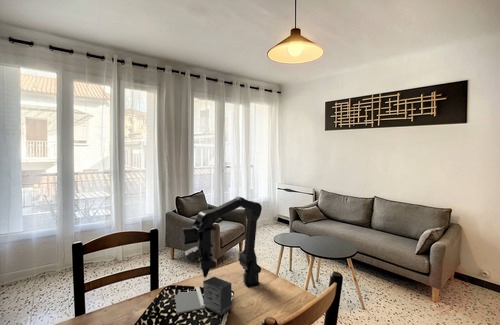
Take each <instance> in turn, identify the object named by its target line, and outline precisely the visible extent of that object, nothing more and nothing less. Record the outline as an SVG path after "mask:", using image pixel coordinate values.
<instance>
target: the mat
mask: <svg viewBox="0 0 500 325" xmlns="http://www.w3.org/2000/svg"><path fill="white" fill-rule="evenodd" d="M195 289H196V291H191V290H192V289H189V290H190V291H189V292H188V293H187V292H181V291H177V292H178V294H179V295H175V296H174V303H176V304H175V311H176V315H178V314H184V313H188V312H193V311H199V310H203V309H206V308H205V305H204V304H203V303H204V296H203V294H202V292H201V287H200V286H195Z"/></svg>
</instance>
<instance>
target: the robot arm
mask: <svg viewBox="0 0 500 325" xmlns="http://www.w3.org/2000/svg"><path fill="white" fill-rule="evenodd" d="M239 208H242V209H244V215H245V217H246V218H245V219H246V226H245V227H246V228H245V239H244V247H243V248H244V249H243V250H242V252H239V258H238V261H239V265H240V266H241V267H242V269H243V270H244V273H243V281H242V282H243V283H244V285H245V286H246V287H247V288H250V287H256V286H260V285H261V283H260V281H259V280H260V279H259V278H260V277H259V275H260V273H261V271H262V267H261V266H260V265H259V264H258V261H257V260H258V258H257V254H256V251H255V246H256V237H257V236H256V235H257V225H258V220H259V218H260V217H261V214H262V210H263V209H262V205H261V203H260V202H257V201H253V200H248V199H245V198H244V197H241V196H236V197H235V198H233V199H231V200H229V201H226V202H225V203H222V204H221V205H219V206H217V207H214V208H209V209H205V210H201V211H200V212H198V213H197V215H196V219H195V220H194V222H193V223H192V225H191V227H182V229H181V232H180V235H179V241H180V244H181V246H187V245H192V244H196V246H194V247H192V248H190V249H187V250H186V251H184V254H185V258H186V261H187V262H188V263H189V262H192V261H193V260H195V259H196V260H197V262H198V266H199V268H200V270H202V276H203V278H207V277H208V274H209V273H210V270H211V269H216V268H217V261H216V259H215V258H214V257H213V256H214V254H213V250H212V249H213V248H214V247H213V246H214V245H213V242H212V240H213V237H212V236H213V231H217V228H216V227H215V225H214V224H215V223H216V222H218V220H219V219H220V218H221V217H224V216H225V215H227V214H229V213H230V212H232V211H235V210H237V209H239Z"/></svg>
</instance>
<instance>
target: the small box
mask: <svg viewBox="0 0 500 325" xmlns="http://www.w3.org/2000/svg"><path fill="white" fill-rule="evenodd" d="M202 283H203V300H204V303H203V304H204V305H205V309H207V310H210V311H211V312H213V313H215V314H217V315H219V316H223V315H224V314H226V313H227V312H230V311H231V310H232V306H233V305H232V282H230V281H227V280H224V279H222V278H219V277H216V276H212V277H210V278H208V279H205V280H203V281H202Z"/></svg>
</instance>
